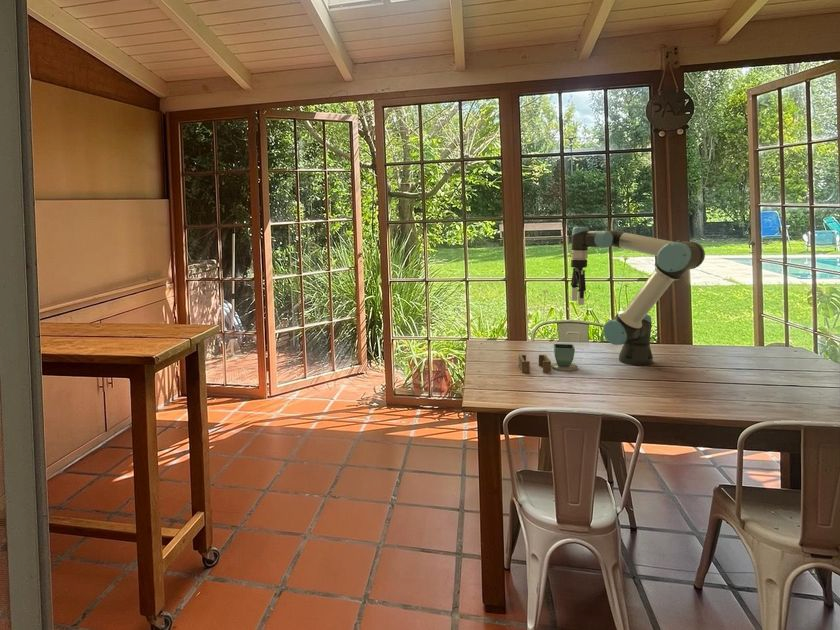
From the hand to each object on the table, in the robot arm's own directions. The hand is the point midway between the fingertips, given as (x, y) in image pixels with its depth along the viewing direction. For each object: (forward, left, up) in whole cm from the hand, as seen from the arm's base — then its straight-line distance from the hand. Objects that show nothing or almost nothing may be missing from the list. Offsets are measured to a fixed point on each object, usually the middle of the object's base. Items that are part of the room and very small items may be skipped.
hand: (577, 302), depth 260 cm
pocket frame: (+24, +24, -27) cm, 43 cm away
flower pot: (+10, +21, -26) cm, 35 cm away
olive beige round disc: (+10, +22, -27) cm, 36 cm away
